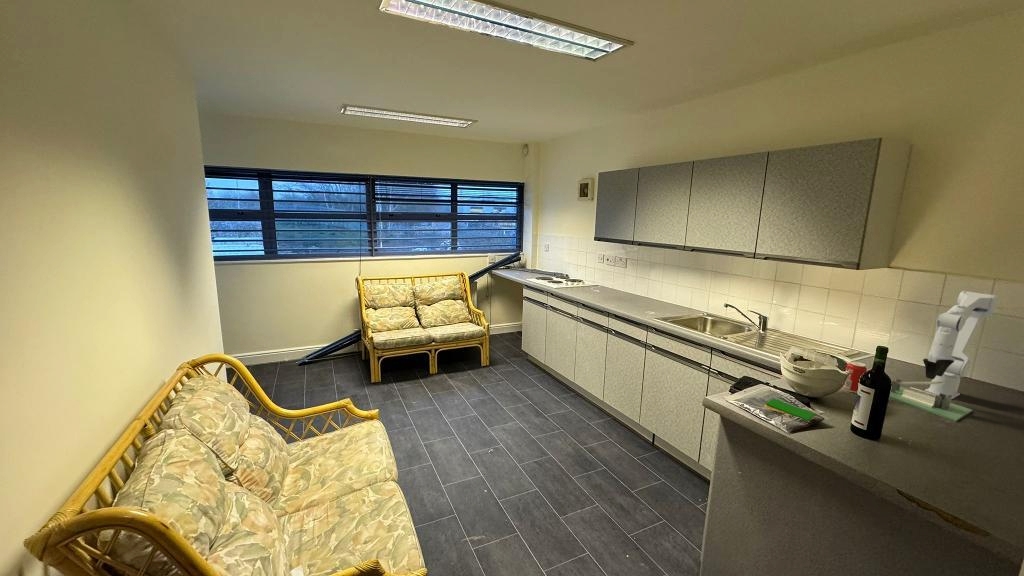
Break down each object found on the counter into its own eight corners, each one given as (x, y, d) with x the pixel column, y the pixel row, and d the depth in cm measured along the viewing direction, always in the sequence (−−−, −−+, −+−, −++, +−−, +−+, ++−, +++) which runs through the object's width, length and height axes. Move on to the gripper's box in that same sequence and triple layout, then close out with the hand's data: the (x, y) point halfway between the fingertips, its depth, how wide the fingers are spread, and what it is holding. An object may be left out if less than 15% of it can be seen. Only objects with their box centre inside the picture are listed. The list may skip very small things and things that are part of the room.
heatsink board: (890, 385, 171) (893, 372, 170) (971, 411, 151) (975, 398, 149) (872, 392, 164) (876, 380, 163) (955, 421, 143) (959, 407, 142)
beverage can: (865, 394, 162) (871, 367, 160) (849, 393, 163) (856, 366, 160) (852, 387, 169) (858, 360, 166) (837, 386, 169) (843, 360, 166)
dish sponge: (807, 426, 139) (808, 419, 138) (764, 408, 150) (765, 403, 149) (814, 420, 143) (815, 413, 143) (772, 403, 154) (773, 398, 153)
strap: (897, 383, 164) (896, 381, 164) (945, 383, 152) (944, 381, 152) (894, 384, 163) (893, 382, 163) (942, 384, 150) (941, 382, 150)
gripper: (951, 349, 146) (940, 383, 149) (965, 345, 153) (955, 378, 156) (925, 343, 152) (915, 376, 155) (940, 339, 159) (930, 371, 162)
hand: (933, 376), depth 156 cm, fingers open, 7 cm apart
